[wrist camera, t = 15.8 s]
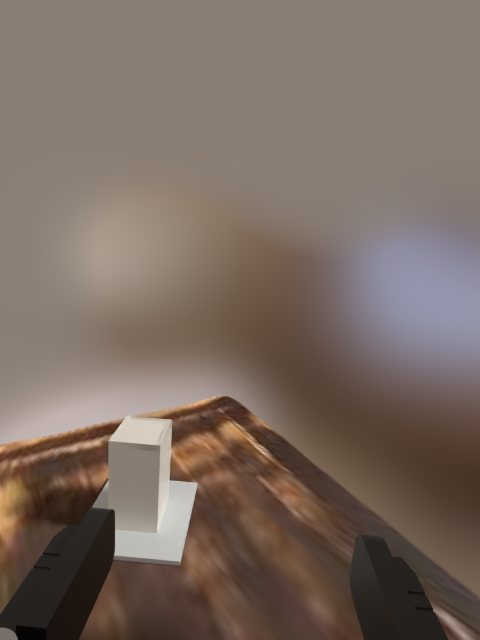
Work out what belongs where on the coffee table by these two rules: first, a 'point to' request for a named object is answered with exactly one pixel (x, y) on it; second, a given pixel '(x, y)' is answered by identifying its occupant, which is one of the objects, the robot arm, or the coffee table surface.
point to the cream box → (139, 473)
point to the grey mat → (170, 533)
